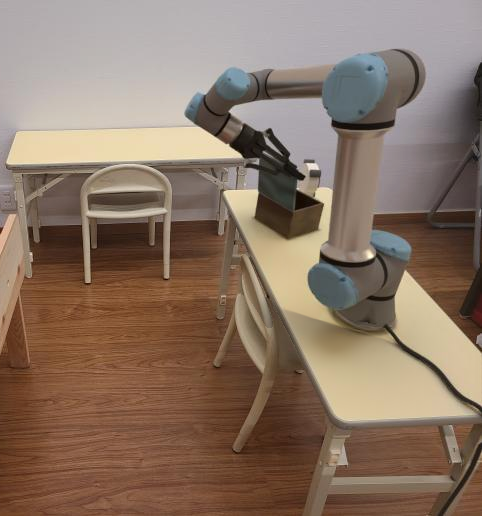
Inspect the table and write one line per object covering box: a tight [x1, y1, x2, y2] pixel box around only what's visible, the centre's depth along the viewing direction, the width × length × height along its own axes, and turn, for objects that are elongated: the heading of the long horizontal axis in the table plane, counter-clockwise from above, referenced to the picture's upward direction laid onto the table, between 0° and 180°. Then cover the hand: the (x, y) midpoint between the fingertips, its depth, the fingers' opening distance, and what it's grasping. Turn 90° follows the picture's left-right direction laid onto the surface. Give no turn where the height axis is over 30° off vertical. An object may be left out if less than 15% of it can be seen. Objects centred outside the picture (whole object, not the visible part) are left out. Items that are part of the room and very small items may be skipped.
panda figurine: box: [298, 158, 322, 200], centre depth 179 cm, size 12×11×15 cm
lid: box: [257, 152, 299, 212], centre depth 157 cm, size 14×17×1 cm
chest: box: [253, 189, 325, 240], centre depth 167 cm, size 14×17×10 cm
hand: (302, 178), depth 141 cm, fingers closed
